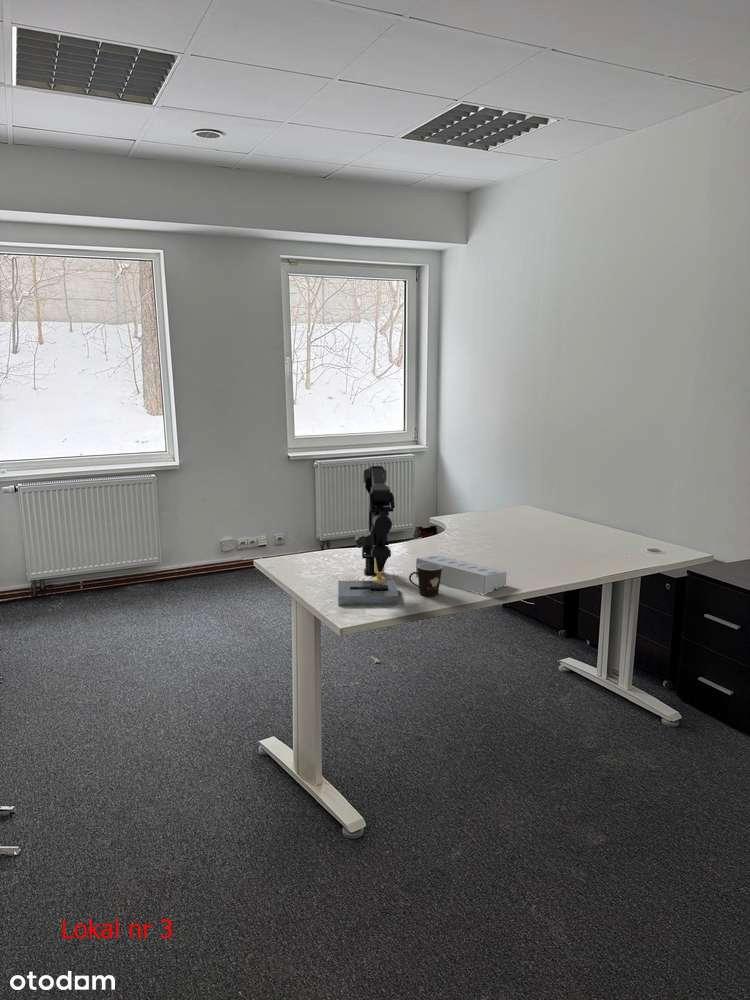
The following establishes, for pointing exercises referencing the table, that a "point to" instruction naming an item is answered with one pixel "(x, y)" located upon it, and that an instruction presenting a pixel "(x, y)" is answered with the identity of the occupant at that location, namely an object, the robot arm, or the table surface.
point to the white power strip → (466, 574)
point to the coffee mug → (428, 578)
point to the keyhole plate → (367, 593)
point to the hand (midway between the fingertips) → (379, 570)
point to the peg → (378, 575)
